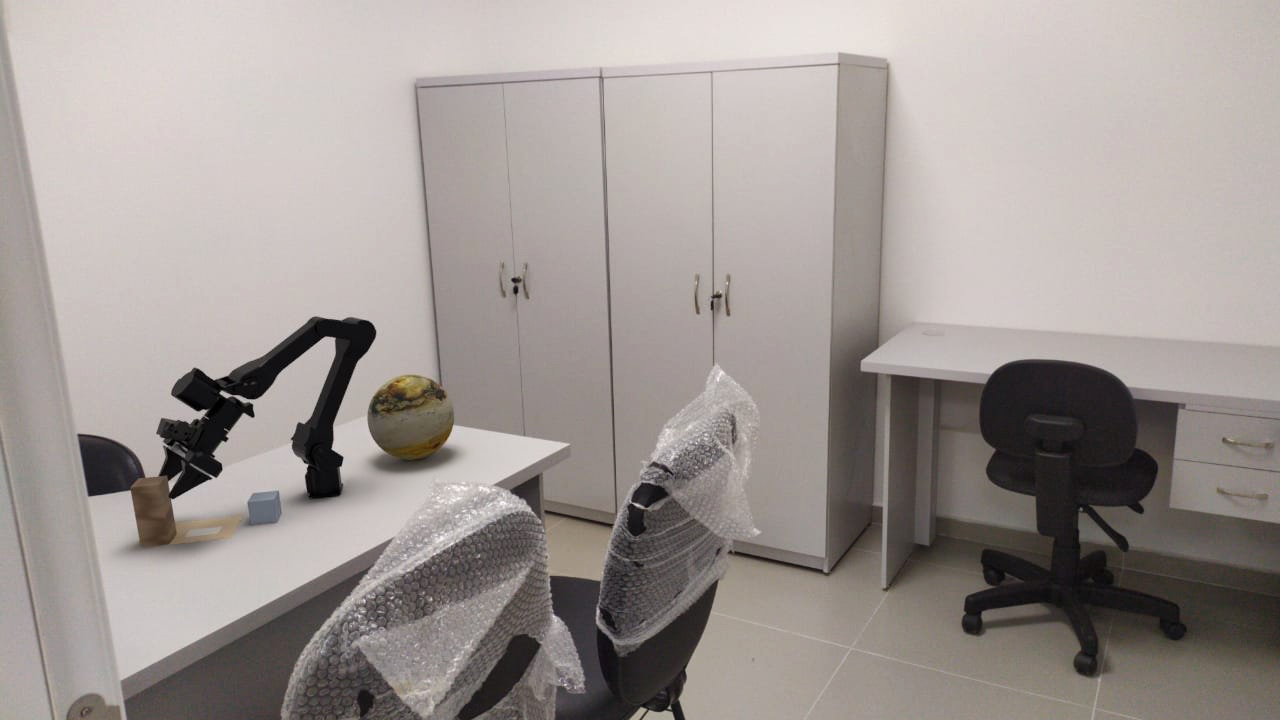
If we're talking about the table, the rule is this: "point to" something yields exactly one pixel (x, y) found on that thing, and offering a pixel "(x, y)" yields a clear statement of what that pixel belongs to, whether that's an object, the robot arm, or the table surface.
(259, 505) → the slate-blue cube
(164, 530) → the walnut block
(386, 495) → the table surface
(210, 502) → the table surface
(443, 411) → the decorative sphere
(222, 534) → the kraft envelope
